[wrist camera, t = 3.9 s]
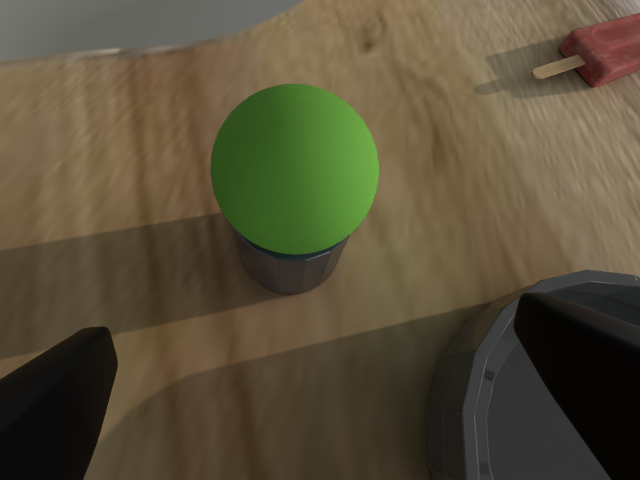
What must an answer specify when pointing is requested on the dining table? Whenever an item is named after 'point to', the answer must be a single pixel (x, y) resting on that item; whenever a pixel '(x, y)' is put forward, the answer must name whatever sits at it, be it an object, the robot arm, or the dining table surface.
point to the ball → (294, 169)
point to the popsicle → (599, 51)
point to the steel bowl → (514, 392)
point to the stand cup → (288, 266)
